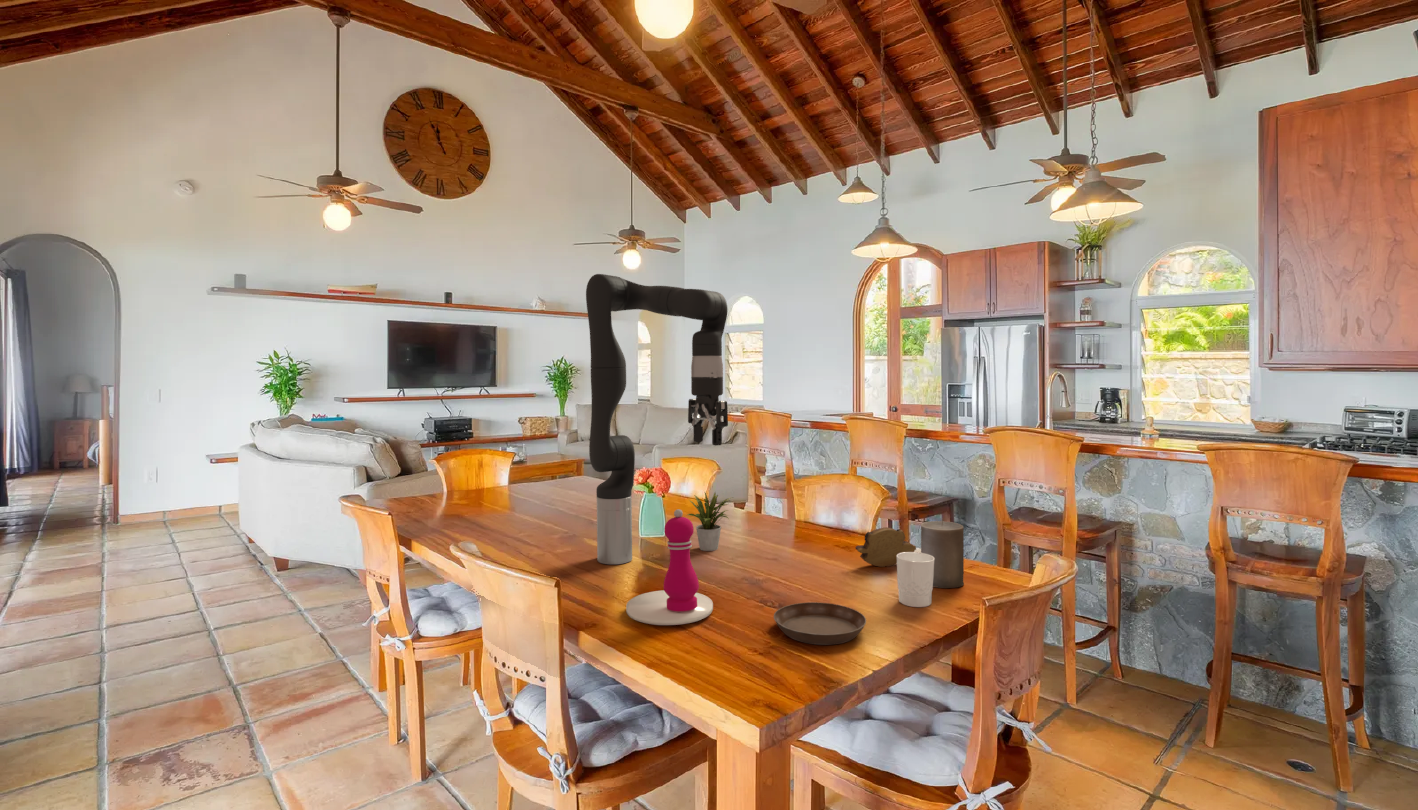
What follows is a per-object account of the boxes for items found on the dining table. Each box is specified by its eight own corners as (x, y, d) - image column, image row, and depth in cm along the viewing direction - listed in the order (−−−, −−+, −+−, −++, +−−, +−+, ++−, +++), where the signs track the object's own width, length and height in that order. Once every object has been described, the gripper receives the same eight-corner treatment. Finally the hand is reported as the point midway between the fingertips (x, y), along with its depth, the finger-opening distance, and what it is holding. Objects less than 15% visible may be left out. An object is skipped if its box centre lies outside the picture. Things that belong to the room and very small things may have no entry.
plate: (612, 607, 143) (612, 599, 143) (685, 592, 152) (685, 584, 152) (650, 636, 127) (650, 626, 127) (729, 617, 137) (729, 608, 137)
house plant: (735, 556, 181) (735, 497, 180) (684, 556, 182) (684, 497, 181) (734, 543, 196) (734, 487, 195) (687, 543, 196) (686, 487, 195)
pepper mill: (658, 610, 135) (654, 511, 136) (674, 601, 142) (670, 506, 142) (690, 613, 132) (686, 511, 133) (705, 604, 139) (701, 507, 139)
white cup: (914, 611, 140) (915, 563, 140) (888, 599, 147) (888, 554, 147) (942, 604, 144) (942, 558, 143) (915, 593, 151) (915, 550, 150)
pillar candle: (970, 581, 159) (970, 519, 158) (953, 591, 152) (953, 526, 151) (931, 574, 166) (931, 513, 165) (913, 583, 159) (913, 520, 158)
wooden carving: (906, 560, 178) (907, 522, 177) (917, 564, 173) (917, 526, 173) (852, 566, 172) (852, 527, 172) (861, 571, 168) (861, 531, 168)
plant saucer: (771, 614, 139) (771, 600, 139) (856, 615, 138) (856, 601, 138) (776, 650, 121) (776, 633, 121) (874, 651, 121) (875, 634, 121)
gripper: (678, 375, 163) (679, 441, 163) (709, 375, 151) (709, 447, 151) (705, 375, 167) (705, 440, 167) (737, 375, 154) (737, 445, 155)
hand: (707, 443), depth 159 cm, fingers open, 8 cm apart
